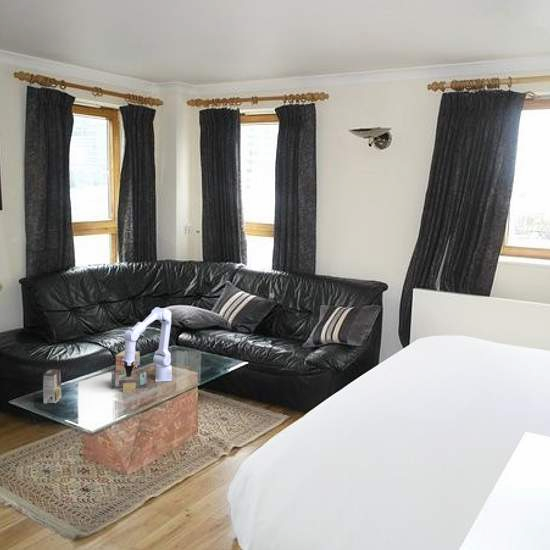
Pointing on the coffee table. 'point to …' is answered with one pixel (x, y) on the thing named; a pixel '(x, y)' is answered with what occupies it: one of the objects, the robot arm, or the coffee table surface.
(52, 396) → the coffee box
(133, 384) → the brass block
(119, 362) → the stack of blocks
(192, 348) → the coffee table surface
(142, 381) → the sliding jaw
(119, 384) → the grey slab
